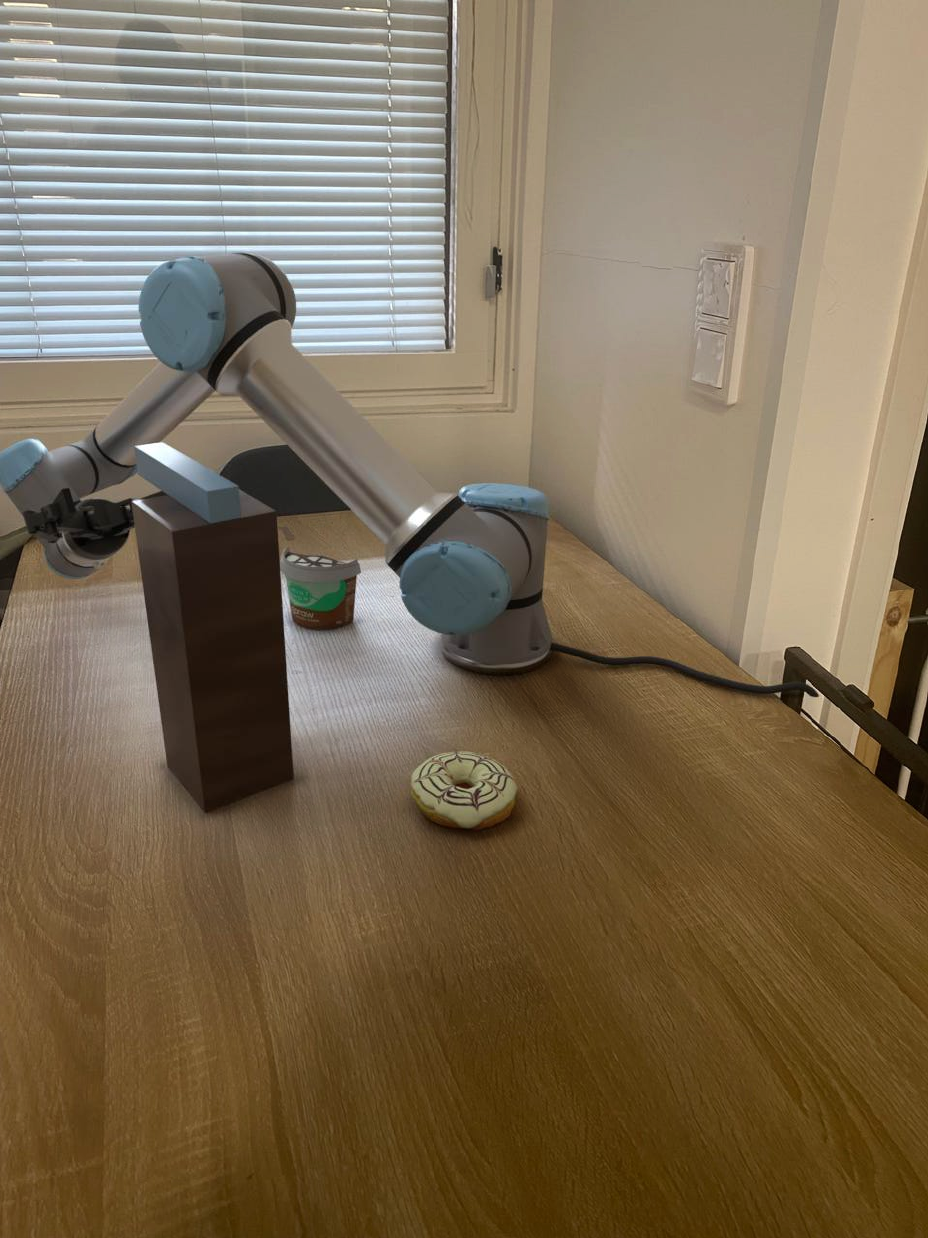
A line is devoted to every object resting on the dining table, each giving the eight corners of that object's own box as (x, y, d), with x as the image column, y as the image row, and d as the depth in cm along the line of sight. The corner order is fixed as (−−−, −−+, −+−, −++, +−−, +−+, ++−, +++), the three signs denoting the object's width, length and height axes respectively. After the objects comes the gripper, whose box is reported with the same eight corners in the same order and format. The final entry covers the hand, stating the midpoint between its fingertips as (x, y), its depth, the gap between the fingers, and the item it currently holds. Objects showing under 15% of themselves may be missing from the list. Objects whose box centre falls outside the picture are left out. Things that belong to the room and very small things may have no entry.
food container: (266, 624, 131) (261, 559, 126) (289, 607, 136) (285, 545, 131) (341, 640, 127) (339, 574, 122) (362, 623, 132) (360, 559, 127)
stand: (167, 766, 98) (131, 500, 86) (252, 737, 104) (230, 484, 91) (204, 813, 91) (171, 531, 78) (294, 779, 97) (276, 510, 84)
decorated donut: (477, 852, 87) (478, 820, 85) (390, 810, 93) (390, 779, 91) (533, 798, 95) (535, 769, 93) (450, 763, 100) (451, 734, 99)
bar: (137, 474, 93) (133, 445, 92) (166, 470, 95) (162, 441, 94) (210, 523, 80) (206, 491, 79) (241, 517, 82) (239, 485, 81)
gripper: (193, 541, 125) (246, 503, 108) (-2, 581, 111) (22, 544, 94) (177, 489, 125) (228, 442, 108) (-20, 522, 111) (1, 474, 94)
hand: (132, 489), depth 101 cm, fingers open, 13 cm apart
